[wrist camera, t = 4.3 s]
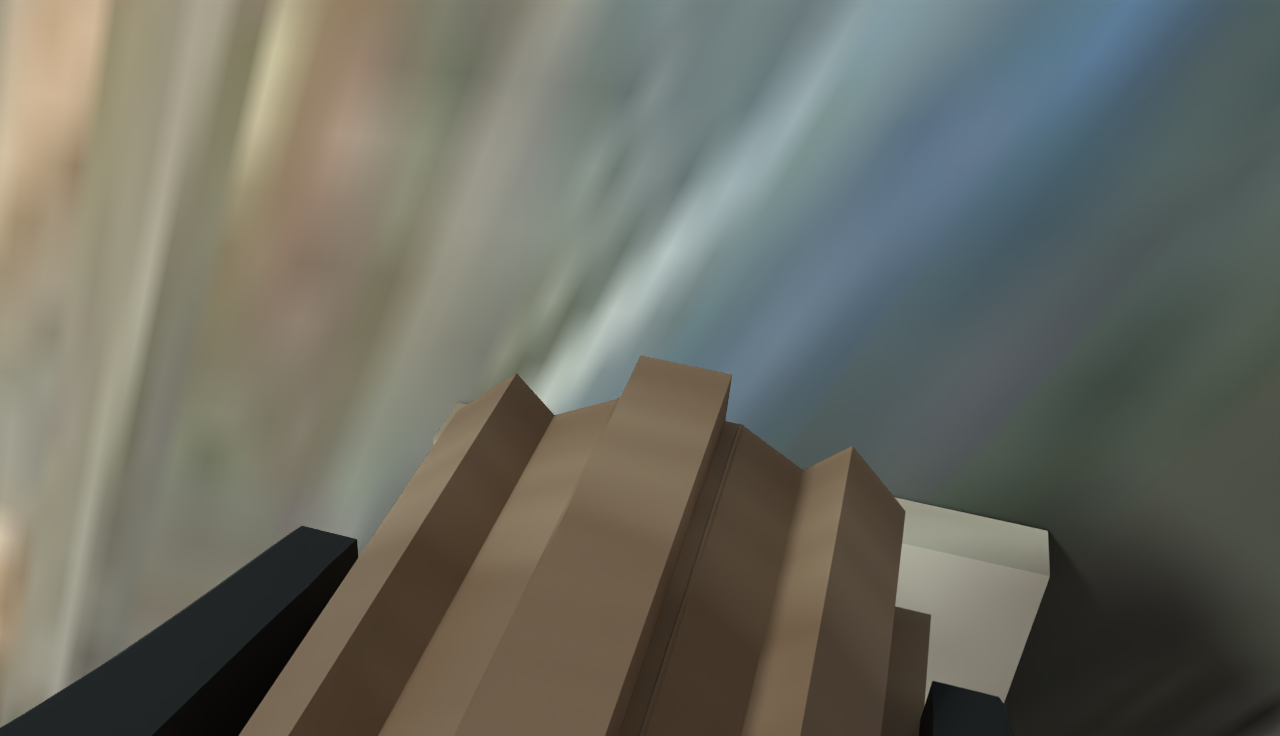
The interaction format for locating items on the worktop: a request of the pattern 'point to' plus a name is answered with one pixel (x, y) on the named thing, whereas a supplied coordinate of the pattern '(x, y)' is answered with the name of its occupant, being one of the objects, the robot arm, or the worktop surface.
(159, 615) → the worktop surface
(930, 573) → the gear board
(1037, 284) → the worktop surface
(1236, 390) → the worktop surface
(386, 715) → the walnut gear
